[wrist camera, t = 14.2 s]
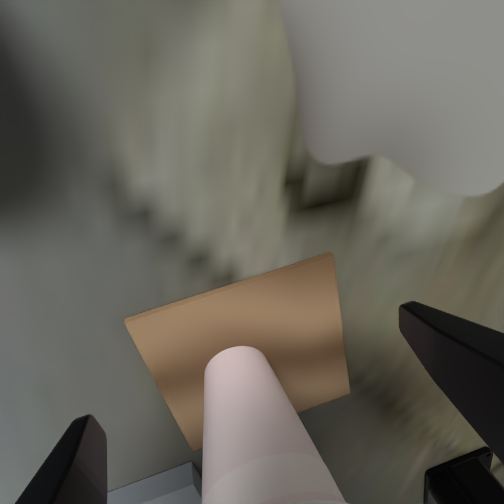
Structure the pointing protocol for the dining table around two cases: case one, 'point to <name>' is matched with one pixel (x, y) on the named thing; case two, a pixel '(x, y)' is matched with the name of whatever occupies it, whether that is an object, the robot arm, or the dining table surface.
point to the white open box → (162, 488)
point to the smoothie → (257, 438)
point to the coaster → (249, 338)
